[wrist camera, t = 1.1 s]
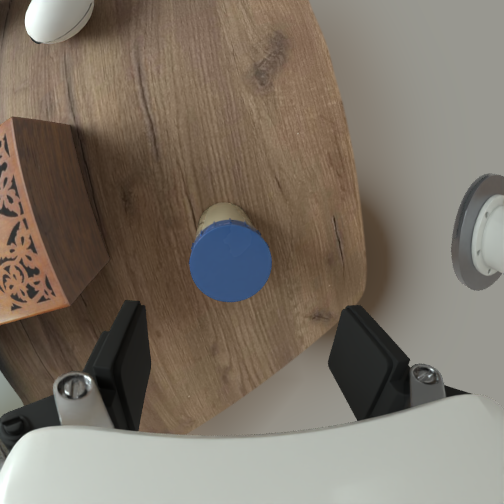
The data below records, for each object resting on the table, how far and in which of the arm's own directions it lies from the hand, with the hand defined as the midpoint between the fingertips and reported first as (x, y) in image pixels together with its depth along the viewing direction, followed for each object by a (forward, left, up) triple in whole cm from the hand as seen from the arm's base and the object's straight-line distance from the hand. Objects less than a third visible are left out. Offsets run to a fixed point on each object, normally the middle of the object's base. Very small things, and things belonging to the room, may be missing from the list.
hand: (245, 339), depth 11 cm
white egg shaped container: (+26, -9, -18) cm, 33 cm away
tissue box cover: (+22, +14, -18) cm, 32 cm away
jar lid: (0, 0, -8) cm, 8 cm away
